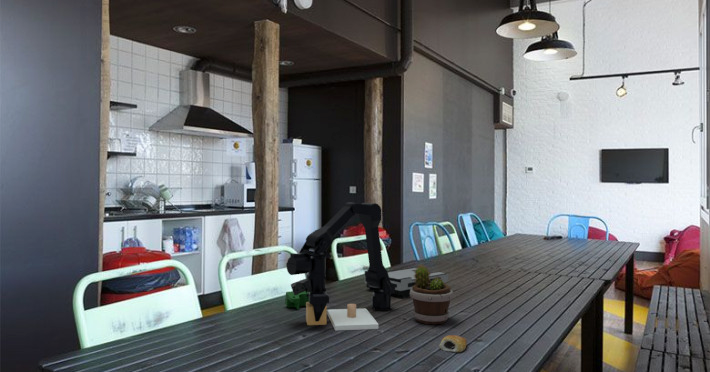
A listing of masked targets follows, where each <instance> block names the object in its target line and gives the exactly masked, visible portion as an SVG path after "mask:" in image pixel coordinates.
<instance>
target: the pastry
mask: <svg viewBox="0 0 710 372" xmlns="http://www.w3.org/2000/svg"><path fill="white" fill-rule="evenodd" d="M467 344H468V343H467V339H466V338H465V337H462V336H460V335H456V334H455V335H452V334H450V335H446V336H444V337H443V338H442V339H441V342H440V343H439V345H438V346H439V348H440V350H442V351H445V352H452V353H462V352H463V351H465V350H466V348H467Z"/></svg>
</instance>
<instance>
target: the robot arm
mask: <svg viewBox="0 0 710 372" xmlns="http://www.w3.org/2000/svg"><path fill="white" fill-rule="evenodd" d="M355 215H358V218H359V222H360V223H361V225H362V227H363V228H364V233H365V240H366V249H367V257H368V264H369V265H368V268H367V270H364V283H365V282H367V283H366V286H367V285H368V286H369V288H368V289H369V291H371V292H372V294H371V297H370V306H371V309H373V310H374V311H392V310H393V309H392V306H391V303H392V301H391V300H392V299H391V298H392V293H394V291H395V286H394V285H393V284H392V283H391V282H390V279H389V275H388V272H387V271H388V270H387V268H386V267H385V266H384V263H383V255H382V246H381V240H380V239H381V238H380V231H379V226H380V223H381V221H382V208H381V205H379V204H378V203H373V202H362V203H358V202H350V201H349V202H346V203H345V204H344V206H342V208H341V209H340V210H339V211H338V212H337V213H336V214H335V215H334V216H333V217H331V219H329V221H328V222H326V223H325V225H324V226H322V227H320V228H317V229H316V230H314V231H312V232H310V233H309V234H308V235H307V237H306V238H305V242H304V244H303V245H302V247H301V249H300V250H299V253H295V252H294V253H293V252H292V253H290V254H289V255H290V256H289V258H287V262H286V270H287V273H288V274H289V275H290V276H296V275H301V274H302V275H303V274H306V278H303V279H300V280H299V281H294V282H293V283H290V287H291V291H293V293H294V295H298V294H299V293H302V292H304V291H305V292H306V293H307V291H308V293H307V294H306V296H307V297H308V298H309V303H310V304H311V305H312V306H313V309H314V315H315V321H319V320H320V318H321V315H322V313H323V311H324V309H325V307H326V306H327V304H330V296H329V294H328V293H327V288H326V280H327V275H326V263H327V261H326V260H327V259H328V258H329V259H330V258H332V255H331V254H330V253H329V252H328V251H327V250H328V249H329V248H330V246H331V245H332V243H333V242H334V238H335V236H336V234H338V233H339V232H340V231H341V230H342V229H343V228H344V227H345V226H346V225H347V224H348V222H350V220H351V219H352V218H353V217H354V216H355Z"/></svg>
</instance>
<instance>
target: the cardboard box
mask: <svg viewBox="0 0 710 372" xmlns="http://www.w3.org/2000/svg"><path fill="white" fill-rule="evenodd" d="M327 308H328V306H327V305H326V307H325V309H324V311H323V313H322V315H321V318H320V320H319V321H315V315H314V309H313V306H312V305H311V304H310V303H309V302H306V306H305V321H306V324H307V326H319V325H320V326H325V325H327V319H328V315H327V310H328V309H327Z"/></svg>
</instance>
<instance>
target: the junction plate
mask: <svg viewBox="0 0 710 372" xmlns="http://www.w3.org/2000/svg"><path fill="white" fill-rule="evenodd" d="M346 305H347V306H346V307H347V308H340V309H339V308H337V309H327V318H328V319H329V321H330V323H331V325H332V326H333V329H334V331H335V332H336V331H354V330H355V331H358V330H359V331H360V330H378V329H379V323H378V322H377V320H376V319H375V318H374V317H373V315H372V314H371V312H369V310H368V309H367V308H357V304H356V303H347V304H346Z"/></svg>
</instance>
